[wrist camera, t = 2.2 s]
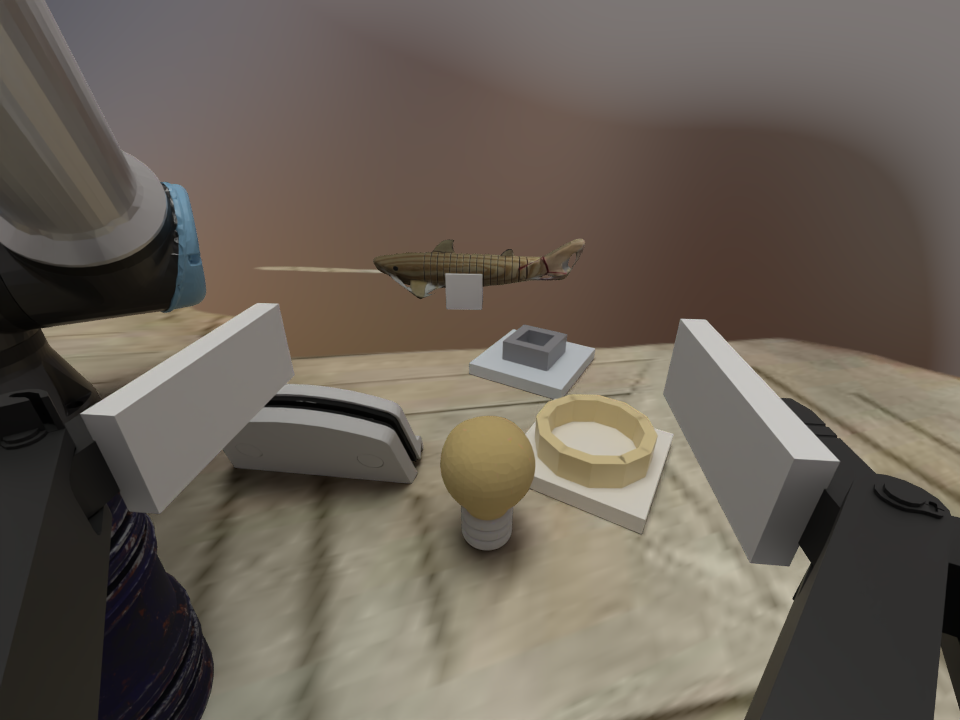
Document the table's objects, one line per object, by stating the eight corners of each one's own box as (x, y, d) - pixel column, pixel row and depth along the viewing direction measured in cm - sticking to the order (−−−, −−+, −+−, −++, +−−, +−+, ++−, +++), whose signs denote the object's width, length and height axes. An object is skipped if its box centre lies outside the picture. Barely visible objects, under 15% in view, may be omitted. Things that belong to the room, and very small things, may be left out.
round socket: (501, 476, 38) (502, 440, 36) (553, 409, 47) (556, 377, 46) (641, 534, 33) (651, 494, 31) (670, 446, 42) (679, 412, 40)
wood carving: (582, 314, 72) (591, 246, 67) (371, 311, 73) (363, 243, 68) (573, 295, 80) (580, 233, 75) (383, 293, 81) (377, 231, 76)
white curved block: (427, 446, 42) (411, 379, 35) (417, 492, 39) (397, 429, 31) (262, 432, 44) (214, 366, 36) (240, 476, 40) (182, 412, 33)
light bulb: (541, 562, 31) (553, 449, 26) (452, 581, 29) (447, 466, 25) (514, 496, 36) (520, 394, 32) (437, 509, 35) (432, 405, 30)
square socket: (469, 373, 54) (468, 344, 52) (513, 338, 64) (514, 313, 62) (560, 401, 49) (563, 369, 47) (593, 358, 58) (597, 331, 56)
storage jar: (-16, 938, 16) (-379, 752, 9) (-43, 733, 22) (-284, 521, 15) (249, 701, 23) (152, 492, 16) (178, 591, 29) (82, 399, 22)
